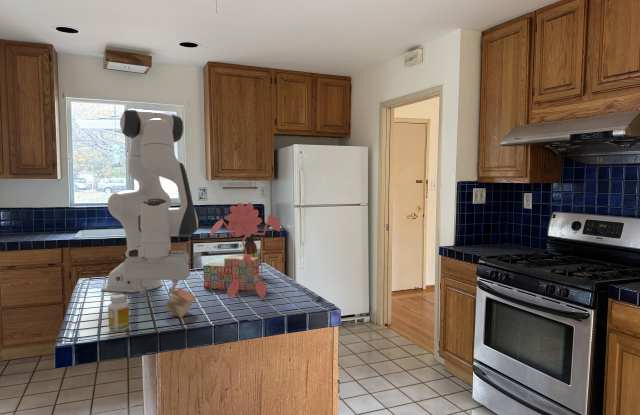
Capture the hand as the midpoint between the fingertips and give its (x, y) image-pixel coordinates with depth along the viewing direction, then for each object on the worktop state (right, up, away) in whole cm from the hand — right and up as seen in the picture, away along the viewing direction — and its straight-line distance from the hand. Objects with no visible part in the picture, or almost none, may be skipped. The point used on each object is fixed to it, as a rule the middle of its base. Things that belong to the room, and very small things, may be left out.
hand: (157, 293), depth 143 cm
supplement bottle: (-7, -8, -12) cm, 16 cm away
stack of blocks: (+16, -5, +36) cm, 40 cm away
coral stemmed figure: (+25, -6, +17) cm, 31 cm away
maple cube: (+6, -6, 0) cm, 8 cm away
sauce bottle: (+21, -3, +57) cm, 61 cm away
